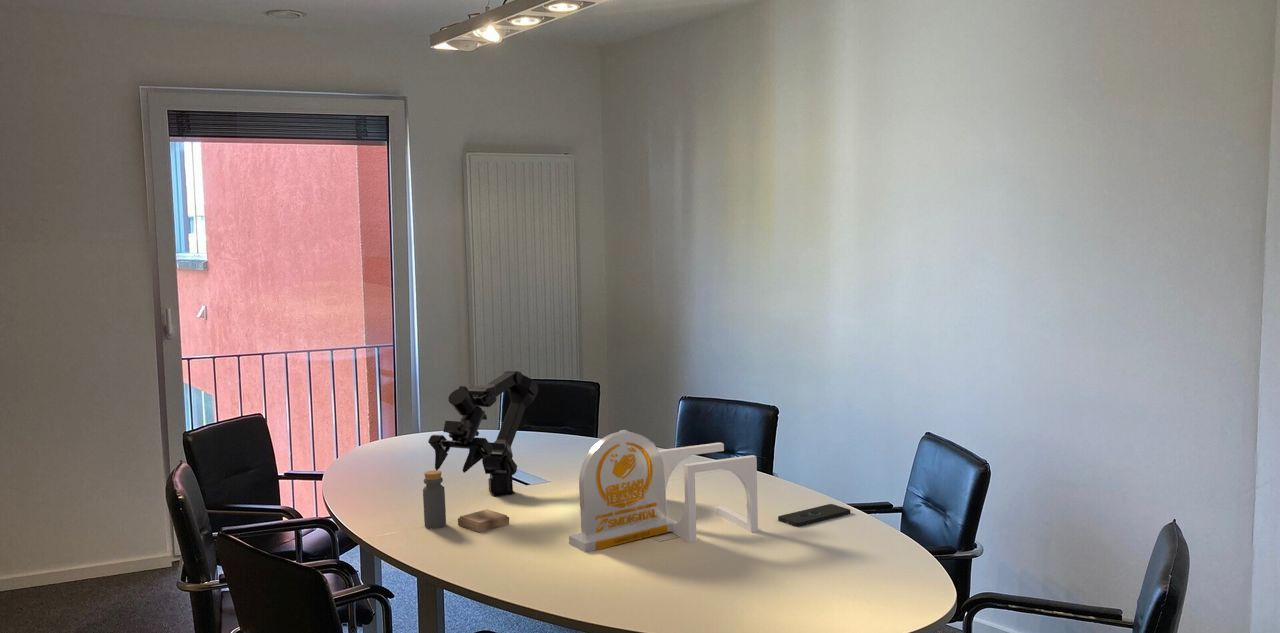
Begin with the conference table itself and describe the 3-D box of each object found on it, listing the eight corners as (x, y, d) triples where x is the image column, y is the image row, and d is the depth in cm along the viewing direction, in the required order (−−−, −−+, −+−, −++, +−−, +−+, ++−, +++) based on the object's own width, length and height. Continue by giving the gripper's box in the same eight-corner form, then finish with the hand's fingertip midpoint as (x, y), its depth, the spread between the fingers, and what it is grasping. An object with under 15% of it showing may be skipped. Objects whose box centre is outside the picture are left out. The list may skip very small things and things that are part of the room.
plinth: (487, 517, 281) (487, 508, 281) (509, 524, 274) (508, 515, 274) (458, 525, 275) (457, 516, 274) (479, 532, 267) (478, 523, 267)
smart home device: (776, 515, 270) (830, 502, 281) (776, 521, 271) (830, 509, 281) (797, 522, 264) (851, 509, 274) (797, 529, 264) (851, 515, 275)
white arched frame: (657, 522, 272) (655, 450, 270) (721, 512, 280) (720, 442, 278) (689, 543, 254) (687, 465, 252) (757, 531, 261) (756, 456, 260)
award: (585, 552, 248) (580, 443, 245) (569, 543, 256) (564, 437, 253) (679, 530, 263) (675, 427, 260) (660, 522, 270) (656, 422, 267)
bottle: (441, 529, 272) (438, 475, 270) (421, 528, 273) (418, 474, 271) (449, 522, 277) (447, 469, 276) (429, 522, 278) (427, 469, 277)
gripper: (430, 407, 289) (409, 453, 280) (485, 410, 281) (465, 457, 272) (447, 428, 297) (427, 474, 288) (501, 431, 289) (482, 478, 280)
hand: (449, 470), depth 282 cm, fingers open, 9 cm apart
